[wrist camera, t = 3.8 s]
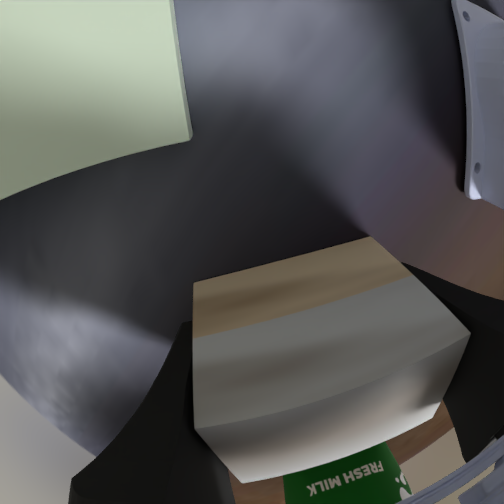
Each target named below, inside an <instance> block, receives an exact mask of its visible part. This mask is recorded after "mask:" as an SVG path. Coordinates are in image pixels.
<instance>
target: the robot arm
mask: <svg viewBox="0 0 504 504" xmlns="http://www.w3.org/2000/svg"><path fill="white" fill-rule="evenodd" d="M451 3H452V8H453V13H454V17H455V22H456V26H457V31H458V37H459V43H460V49H461V56H462V63H463V71H464V81H465V94H466V114H467V151H466V172H465V185H464V192H465V195H466V196H467V197H468V198H470V199H481V198H482V199H484V200H486V201H488V202H490V203H492V204H493V205H495V206H497V207H499V208H501V209H503V210H504V20H503V19H501V18H499V17H497V16H496V15H494V14H492V13H490V12H489V11H487V10H485V9H483V8H481V7H479V6H477V5H475V4H473V3H471V2H469V1H467V0H452V1H451ZM474 167H475V168H474ZM400 263H401V264H402V265H403V266H404V267H405V268H407V269H408V270H409V271H410V272H411V273H412V274H413V275H414V276H415V277H416V278H417V279H418V280H419V281H420V282H421V283H422V284H423V285H424V286H425V287H427V288H428V289H429V290H430V291H431V292H432V293H433V294H434V295H435V296H436V297H437V298H438V299H439V300H440V301H441V302H442V303H443V304H444V305H445V306H446V307H447V308H448V309H449V310H450V312H451V313H452V314H453V315H454V316H455V317H456V318H457V319H458V320H459V321H460V322H461V323H462V324H463V325H464V326H465V327H466V328H467V329H468V331H469V332H470V333H471V334H470V337H469V340H468V343H467V345H466V348H465V350H464V353H463V355H462V358H461V360H460V362H459V365H458V367H457V369H456V371H455V374H454V376H453V378H452V380H451V382H450V384H449V386H448V389H447V391H446V393H445V395H444V397H443V401H444V403H445V405H446V407H447V410H448V412H449V415H450V417H451V420H452V422H453V425H454V428H455V431H456V434H457V437H458V441H459V444H460V447H461V452H462V456H463V458H464V460H465V462H466V464H465V465H463V466H462V467H460V468H459V469H457V470H456V471H454V472H452V473H451V474H449V475H448V476H446V477H444V478H443V479H441V480H439V481H438V482H436V483H434V484H433V485H431V486H429V487H427V488H425V489H424V490H422V491H420V492H418V493H416V494H414V495H412V496H410V497H408V498H406V499H404V500H402V501H400V502H398V503H396V504H434V503H436V502H438V501H440V500H441V499H443V498H445V497H446V496H448V495H449V494H451V493H453V492H454V491H456V490H457V489H459V488H460V487H462V486H463V485H465V484H466V483H468V482H469V481H471V480H472V479H473V478H475V477H476V476H478V475H479V474H480V473H482V472H483V471H484V470H486V469H487V468H488V467H489V466H491V465H492V464H493V463H494V462H496V463H495V468H494V470H493V472H491V473H490V474H489V475H487V476H486V477H485V478H483V479H482V480H481V481H479V482H478V483H477V484H475V485H474V486H472V487H471V488H470V489H468V490H467V491H465V492H464V493H462V494H461V495H460V496H459V497H458V499H459V501H460V503H461V504H504V301H503V300H499V299H495V298H492V297H489V296H485V295H482V294H479V293H476V292H473V291H471V290H468V289H465V288H463V287H460V286H458V285H455V284H453V283H450V282H448V281H446V280H443V279H441V278H439V277H436V276H434V275H432V274H430V273H427V272H425V271H423V270H420V269H418V268H416V267H413V266H411V265H408V264H405V263H403V262H400ZM68 504H235V500H234V496H233V491H232V487H231V483H230V478H229V473H228V469H227V466H226V465H225V464H224V463H223V462H222V461H221V460H220V459H219V458H218V456H217V455H216V454H215V453H214V452H213V451H212V449H211V448H210V447H209V446H208V445H207V444H206V442H205V441H204V440H203V439H202V437H201V436H200V435H199V434H198V433H197V431H196V430H195V429H194V403H193V321H189V322H184V323H182V325H181V326H180V329H179V331H178V333H177V336H176V338H175V340H174V342H173V345H172V347H171V349H170V351H169V353H168V356H167V358H166V360H165V362H164V364H163V366H162V368H161V370H160V372H159V374H158V376H157V377H156V379H155V381H154V383H153V385H152V387H151V388H150V390H149V392H148V393H147V395H146V397H145V398H144V400H143V402H142V403H141V405H140V406H139V408H138V409H137V411H136V412H135V413H134V415H133V416H132V418H131V419H130V420H129V422H128V423H127V424H126V425H125V427H124V428H123V429H122V430H121V432H120V433H119V434H118V435H117V436H116V438H115V439H114V440H113V441H112V442H111V443H110V444H109V445H108V446H107V447H106V448H105V449H104V450H103V451H102V452H101V453H100V454H99V455H98V456H97V457H96V459H94V460H93V461H92V462H91V463H90V464H88V465H87V466H86V467H85V468H84V469H83V470H81V471H80V472H79V473H78V474H77V475H75V476H74V477H73V478H72V481H71V486H70V493H69V502H68Z"/></svg>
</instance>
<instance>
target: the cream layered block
mask: <svg viewBox="0 0 504 504" xmlns="http://www.w3.org/2000/svg"><path fill="white" fill-rule="evenodd" d="M470 334H471V333H470V332H469V331H468V329H467V328H466V327H465V326H464V325H463V324H462V323H461V322H460V321H459V320H458V319H457V318H456V317H455V316H454V315H453V314H452V313H451V312H450V310H449V309H448V308H447V307H446V306H445V305H444V304H443V303H442V302H441V301H440V300H439V299H438V298H437V297H436V296H435V295H434V294H433V293H432V292H431V291H430V290H429V289H428V288H427V287H425V286H424V285H423V284H422V283H421V282H420V281H419V280H418V279H417V278H416V277H415V276H414V275H413V274H412V273H411V272H410V271H409V270H408V269H407V268H405V267H404V266H403V265H402V264H401V263H400V262H399V261H398V260H397V259H396V258H395V257H393V256H392V255H391V254H390V253H389V252H388V251H387V250H386V249H385V248H383V247H382V246H381V245H380V244H379V243H378V242H377V241H375V240H374V239H373V238H372V237H371V236H370V237H366V238H362V239H359V240H355V241H351V242H348V243H344V244H340V245H337V246H333V247H329V248H326V249H322V250H318V251H314V252H311V253H307V254H303V255H299V256H296V257H292V258H288V259H284V260H280V261H277V262H273V263H269V264H265V265H261V266H257V267H253V268H250V269H246V270H242V271H238V272H234V273H230V274H226V275H222V276H218V277H214V278H210V279H206V280H203V281H199V282H195V283H194V286H193V403H194V429H195V430H196V431H197V433H198V434H199V435H200V436H201V437H202V439H203V440H204V441H205V442H206V444H207V445H208V446H209V447H210V448H211V449H212V451H213V452H214V453H215V454H216V455H217V456H218V458H219V459H220V460H221V461H222V462H223V463H224V464H225V465H226V466H227V468H228V469H229V470H230V471H231V472H232V473H233V474H234V475H235V476H236V477H237V478H238V479H239V480H240V481H241V483H247V482H252V481H258V480H263V479H268V478H272V477H277V476H281V475H286V474H290V473H294V472H297V471H301V470H305V469H308V468H312V467H315V466H319V465H322V464H325V463H328V462H331V461H334V460H337V459H340V458H343V457H346V456H349V455H352V454H354V453H357V452H360V451H362V450H365V449H367V448H370V447H372V446H375V445H377V444H379V443H382V442H384V441H386V440H388V439H391V438H393V437H395V436H397V435H399V434H401V433H403V432H406V431H408V430H410V429H412V428H414V427H416V426H418V425H419V424H421V423H423V422H425V421H427V420H429V419H431V418H432V417H433V415H434V414H435V412H436V410H437V408H438V406H439V404H440V402H441V400H442V399H443V397H444V395H445V393H446V391H447V389H448V386H449V384H450V382H451V380H452V378H453V376H454V374H455V371H456V369H457V367H458V365H459V362H460V360H461V358H462V355H463V353H464V350H465V348H466V345H467V343H468V340H469V337H470Z"/></svg>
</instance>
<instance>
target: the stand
mask: <svg viewBox="0 0 504 504" xmlns="http://www.w3.org/2000/svg"><path fill="white" fill-rule="evenodd" d="M192 136H193V131H192V125H191V120H190V114H189V107H188V101H187V95H186V89H185V82H184V76H183V69H182V62H181V55H180V48H179V41H178V34H177V26H176V18H175V10H174V2H173V0H0V200H1V199H3V198H6V197H8V196H10V195H13V194H15V193H17V192H20V191H22V190H25V189H27V188H30V187H32V186H35V185H37V184H40V183H42V182H45V181H48V180H50V179H53V178H56V177H59V176H62V175H64V174H67V173H70V172H73V171H76V170H79V169H82V168H85V167H88V166H92V165H95V164H98V163H101V162H105V161H108V160H112V159H115V158H119V157H122V156H126V155H130V154H133V153H137V152H141V151H145V150H149V149H153V148H158V147H162V146H166V145H171V144H175V143H180V142H185V141H190V139H191V138H192Z"/></svg>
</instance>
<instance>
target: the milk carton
mask: <svg viewBox="0 0 504 504" xmlns="http://www.w3.org/2000/svg"><path fill="white" fill-rule="evenodd" d="M283 482H284V493H285V502H286V504H396V503H398V502H400V501H402V500H404V499H406V498H408V497H410V496H412V495H413V494H412V491H411V489H410V487H409V485H408V483H407V481H406V479H405V477H404V475H403V473H402V471H401V469H400V467H399V465H398V463H397V462H396V460H395V458H394V456H393V454H392V453H391V451H390V449H389V447H388V446H387V444H386V442H385V441H384V442H382V443H379V444H377V445H375V446H372V447H370V448H367V449H365V450H362V451H360V452H357V453H354V454H352V455H349V456H346V457H343V458H340V459H337V460H334V461H331V462H328V463H325V464H322V465H319V466H315V467H312V468H308V469H305V470H301V471H297V472H294V473H290V474H286V475H283Z"/></svg>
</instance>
